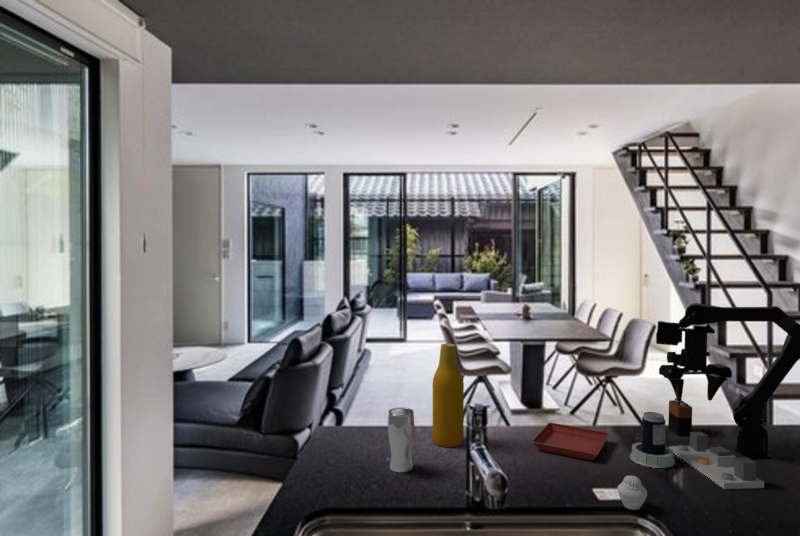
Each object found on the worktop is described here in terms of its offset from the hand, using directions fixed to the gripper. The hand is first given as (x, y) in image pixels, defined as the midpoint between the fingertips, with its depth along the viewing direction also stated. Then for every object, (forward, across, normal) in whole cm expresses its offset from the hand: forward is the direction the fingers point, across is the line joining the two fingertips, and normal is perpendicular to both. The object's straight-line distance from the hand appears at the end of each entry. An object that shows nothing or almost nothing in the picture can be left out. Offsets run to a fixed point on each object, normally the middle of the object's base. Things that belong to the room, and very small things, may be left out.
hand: (694, 400), depth 154 cm
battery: (+13, -2, -10) cm, 17 cm away
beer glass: (+13, +86, +10) cm, 88 cm away
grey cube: (+11, +3, +16) cm, 20 cm away
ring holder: (+13, +18, +10) cm, 24 cm away
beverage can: (+13, +18, +10) cm, 24 cm away
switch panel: (+13, +5, +16) cm, 21 cm away
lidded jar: (+13, +36, +34) cm, 51 cm away
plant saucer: (+14, +36, -1) cm, 39 cm away
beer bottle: (+13, +71, -7) cm, 72 cm away
